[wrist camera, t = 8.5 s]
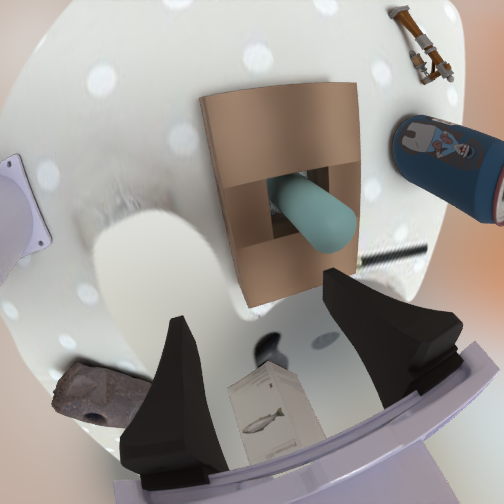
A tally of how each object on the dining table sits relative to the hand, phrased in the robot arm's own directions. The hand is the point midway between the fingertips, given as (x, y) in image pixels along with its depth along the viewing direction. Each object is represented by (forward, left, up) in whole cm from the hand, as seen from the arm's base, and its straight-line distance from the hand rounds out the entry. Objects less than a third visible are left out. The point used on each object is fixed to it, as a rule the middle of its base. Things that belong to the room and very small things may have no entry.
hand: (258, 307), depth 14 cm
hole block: (+5, +2, -10) cm, 11 cm away
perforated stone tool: (-17, -16, -10) cm, 25 cm away
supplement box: (0, -24, -10) cm, 26 cm away
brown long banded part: (+20, +14, -10) cm, 27 cm away
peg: (+5, +2, -10) cm, 11 cm away
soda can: (+20, +3, -10) cm, 22 cm away
